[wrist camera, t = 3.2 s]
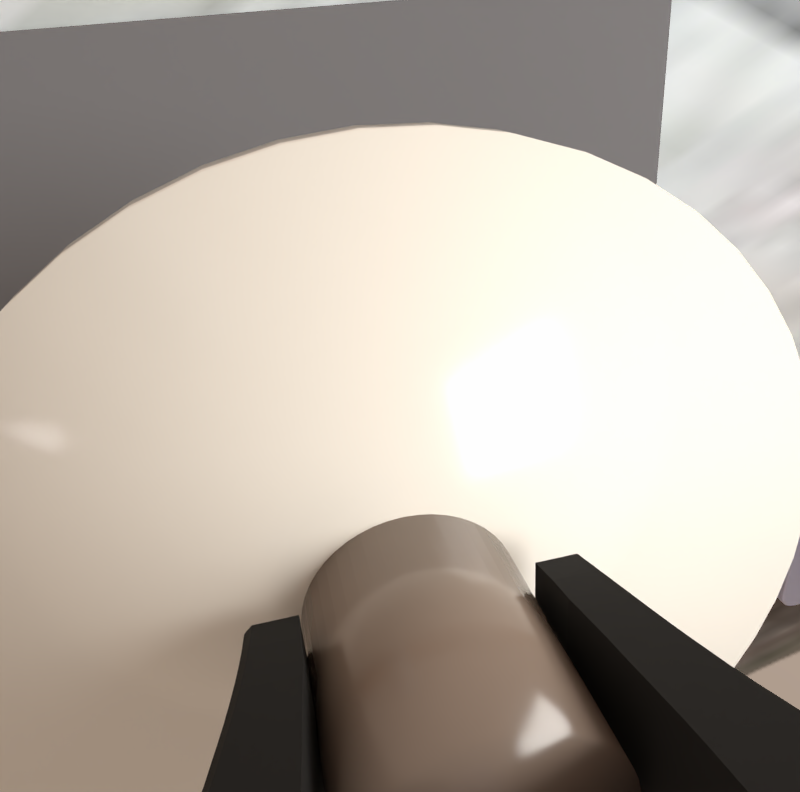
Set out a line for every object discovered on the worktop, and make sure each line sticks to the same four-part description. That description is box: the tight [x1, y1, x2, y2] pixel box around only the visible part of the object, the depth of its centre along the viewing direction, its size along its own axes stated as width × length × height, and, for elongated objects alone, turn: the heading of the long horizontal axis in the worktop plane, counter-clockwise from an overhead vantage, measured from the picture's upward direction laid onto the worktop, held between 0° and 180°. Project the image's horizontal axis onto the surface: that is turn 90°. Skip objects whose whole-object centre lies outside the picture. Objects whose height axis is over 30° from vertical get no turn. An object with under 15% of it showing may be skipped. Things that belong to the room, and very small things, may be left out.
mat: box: [0, 0, 672, 311], centre depth 17 cm, size 16×16×1 cm
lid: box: [0, 122, 800, 792], centre depth 9 cm, size 13×13×4 cm
